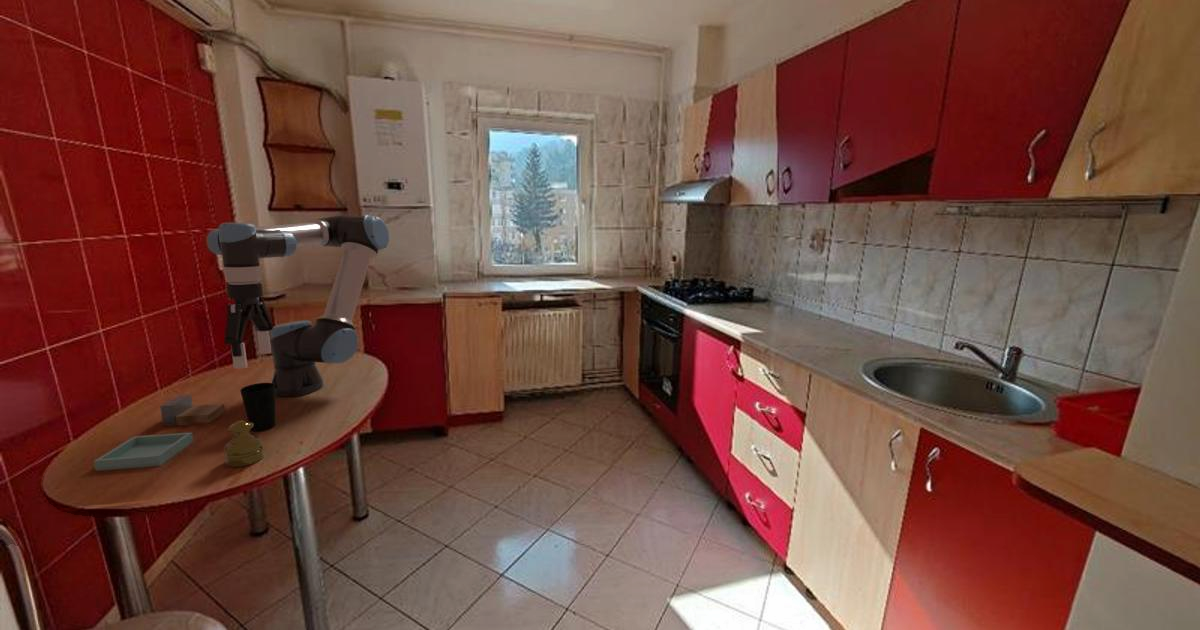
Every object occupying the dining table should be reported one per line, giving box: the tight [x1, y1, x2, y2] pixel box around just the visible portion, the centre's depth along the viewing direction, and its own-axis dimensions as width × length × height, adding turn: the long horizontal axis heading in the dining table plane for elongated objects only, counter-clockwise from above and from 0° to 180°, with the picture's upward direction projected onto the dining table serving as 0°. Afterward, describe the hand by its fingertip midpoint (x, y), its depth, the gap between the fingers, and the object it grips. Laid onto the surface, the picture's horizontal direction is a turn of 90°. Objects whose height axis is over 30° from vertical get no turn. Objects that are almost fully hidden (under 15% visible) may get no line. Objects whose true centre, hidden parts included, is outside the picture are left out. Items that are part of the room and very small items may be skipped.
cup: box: [240, 382, 276, 433], centre depth 129 cm, size 8×8×12 cm
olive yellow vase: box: [223, 419, 265, 468], centre depth 112 cm, size 7×7×10 cm
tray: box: [93, 432, 194, 472], centre depth 114 cm, size 13×13×2 cm
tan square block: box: [176, 403, 226, 426], centre depth 135 cm, size 8×8×3 cm
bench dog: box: [160, 394, 194, 427], centre depth 133 cm, size 3×8×6 cm, turn 13°
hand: (253, 360), depth 126 cm, fingers open, 13 cm apart
